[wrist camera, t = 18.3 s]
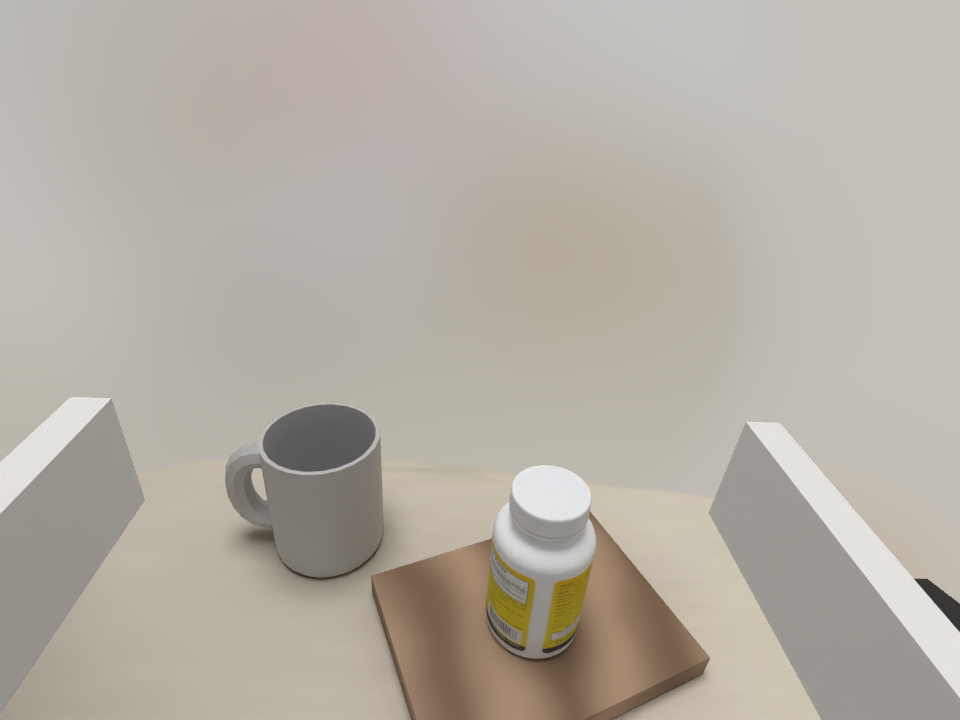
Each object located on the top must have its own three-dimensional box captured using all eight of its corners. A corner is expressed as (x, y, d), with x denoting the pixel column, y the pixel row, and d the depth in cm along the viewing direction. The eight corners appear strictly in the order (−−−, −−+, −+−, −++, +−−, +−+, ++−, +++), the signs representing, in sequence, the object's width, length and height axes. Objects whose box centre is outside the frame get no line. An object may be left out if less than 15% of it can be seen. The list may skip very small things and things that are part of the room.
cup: (375, 583, 34) (370, 477, 30) (216, 578, 34) (187, 470, 29) (390, 501, 41) (387, 404, 36) (256, 497, 40) (237, 398, 36)
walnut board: (438, 805, 24) (439, 790, 24) (372, 591, 34) (371, 575, 33) (702, 673, 30) (710, 658, 30) (584, 523, 40) (587, 508, 39)
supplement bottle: (575, 584, 33) (603, 462, 29) (579, 669, 29) (613, 541, 24) (489, 571, 34) (502, 449, 29) (479, 654, 29) (492, 525, 24)
